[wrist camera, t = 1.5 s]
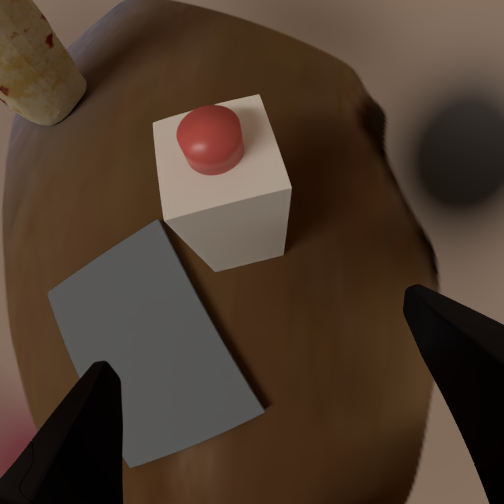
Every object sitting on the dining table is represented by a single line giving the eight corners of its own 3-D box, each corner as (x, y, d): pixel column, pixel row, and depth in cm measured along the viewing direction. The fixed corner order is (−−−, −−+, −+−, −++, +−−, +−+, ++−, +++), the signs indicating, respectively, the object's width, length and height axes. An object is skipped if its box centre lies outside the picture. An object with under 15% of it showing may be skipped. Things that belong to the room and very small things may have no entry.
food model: (94, 74, 29) (20, -45, 10) (91, 111, 27) (-5, -23, 8) (32, 108, 29) (-51, 14, 10) (25, 146, 27) (-78, 49, 8)
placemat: (265, 409, 20) (264, 412, 19) (133, 465, 19) (130, 467, 18) (160, 221, 23) (157, 219, 23) (51, 293, 23) (47, 293, 22)
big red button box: (283, 255, 22) (294, 168, 10) (215, 272, 22) (149, 206, 10) (265, 192, 23) (257, 71, 11) (202, 209, 23) (141, 102, 11)
